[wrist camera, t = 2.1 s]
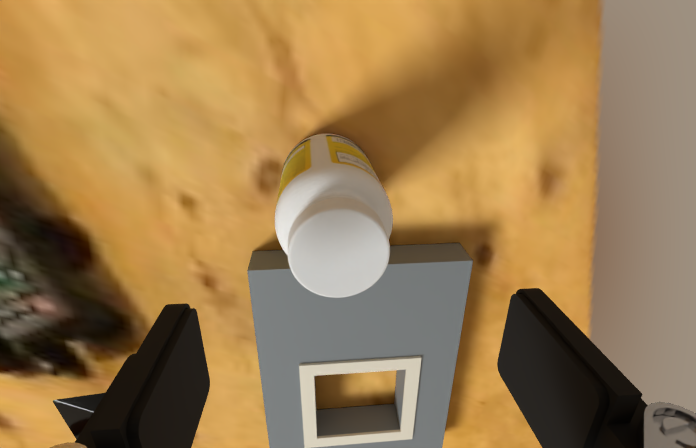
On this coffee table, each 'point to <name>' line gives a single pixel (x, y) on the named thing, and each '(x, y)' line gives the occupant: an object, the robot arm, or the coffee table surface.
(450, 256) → the board
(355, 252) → the supplement bottle
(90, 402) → the black stand
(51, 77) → the coffee table surface
